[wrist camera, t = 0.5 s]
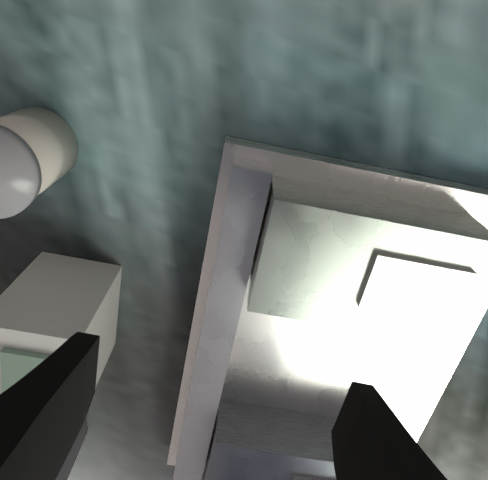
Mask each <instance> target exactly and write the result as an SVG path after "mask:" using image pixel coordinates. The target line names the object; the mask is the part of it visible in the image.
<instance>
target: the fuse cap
mask: <svg viewBox="0 0 488 480" xmlns="http://www.w3.org/2000/svg"><path fill="white" fill-rule="evenodd" d="M77 157H78V143H77V139H76V136H75V134H74V132H73V130H72V128H71V127H70V125H69V124H68V123H67V122H66V121H65V120H64V119H63V118H62V117H61V116H59V115H58V114H56V113H55V112H53V111H51V110H48V109H45V108H40V107H29V108H25V109H22V110H19V111H16V112H13V113H10V114H7V115H4V116H1V117H0V219H3V218H8V217H12V216H14V215H17V214H18V213H20V212H21V211H23V210H24V209H25V208H26V207H28V206H29V205H30V204H31V203H32V202H33V201H34V200H35V199H36V197H37V196H38V195H39V194H40V193H41V192H43V191H44V190H45V189H47V188H48V187H49V186H51V185H52V184H53V183H55V182H56V181H57V180H59V179H60V178H61V177H62V176H64V175H65V174H66V173H68V172H69V171H70V170H71V169H72V168H73V166H74V165H75V163H76V160H77Z"/></svg>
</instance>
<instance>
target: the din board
mask: <svg viewBox="0 0 488 480" xmlns="http://www.w3.org/2000/svg"><path fill="white" fill-rule="evenodd" d="M487 308H488V189H486V188H481V187H476V186H471V185H466V184H461V183H456V182H451V181H446V180H441V179H436V178H432V177H427V176H422V175H417V174H412V173H407V172H402V171H397V170H392V169H387V168H382V167H377V166H372V165H367V164H363V163H358V162H353V161H348V160H343V159H338V158H333V157H328V156H323V155H318V154H313V153H308V152H303V151H298V150H293V149H289V148H284V147H279V146H274V145H269V144H264V143H259V142H254V141H249V140H244V139H239V138H234V137H229V136H226V139H225V143H224V148H223V154H222V159H221V165H220V171H219V176H218V182H217V187H216V193H215V198H214V204H213V210H212V215H211V221H210V226H209V232H208V237H207V243H206V249H205V254H204V260H203V265H202V271H201V276H200V282H199V287H198V293H197V299H196V304H195V310H194V315H193V321H192V326H191V332H190V338H189V343H188V349H187V354H186V360H185V365H184V371H183V377H182V382H181V388H180V393H179V399H178V404H177V410H176V416H175V421H174V427H173V432H172V438H171V443H170V449H169V454H168V460H167V465H172V466H175V468H174V474H173V479H172V480H201V479H202V475H203V480H336V475H335V470H334V461H333V450H332V435H331V431H332V429H333V426H334V424H335V422H336V419H337V417H338V414H339V412H340V410H341V407H342V405H343V402H344V400H345V398H346V395H347V393H348V390H349V388H350V386H351V383H352V381H353V382H359V383H364V384H370V385H373V386H374V387H375V388H376V390H377V391H378V392H379V394H380V395H381V396H382V398H383V399H384V400H385V402H386V403H387V404H388V406H389V407H390V408H391V410H392V411H393V412H394V414H395V415H396V416H397V418H398V419H399V420H400V422H401V423H402V424H403V426H404V427H405V428H406V430H407V431H408V432H409V434H410V435H411V436H412V437H413V439H414V440H415V441H416V443H417V441H418V439H419V437H420V435H421V433H422V431H423V430H424V428H425V426H426V424H427V422H428V420H429V418H430V416H431V414H432V412H433V411H434V409H435V407H436V405H437V403H438V401H439V399H440V397H441V395H442V393H443V391H444V390H445V388H446V386H447V384H448V382H449V380H450V378H451V376H452V374H453V372H454V370H455V369H456V367H457V365H458V363H459V361H460V359H461V357H462V355H463V353H464V351H465V349H466V348H467V346H468V344H469V342H470V340H471V338H472V336H473V334H474V332H475V330H476V328H477V327H478V325H479V323H480V321H481V319H482V317H483V315H484V313H485V311H486V309H487ZM203 471H204V473H203Z"/></svg>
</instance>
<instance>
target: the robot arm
mask: <svg viewBox="0 0 488 480" xmlns="http://www.w3.org/2000/svg"><path fill="white" fill-rule="evenodd" d="M99 342H100V336H99V335H94V334H88V333H82V332H76V333H75V334H73V335H72V336H71V337H70V338H69V339H68V340H67V341H65V342H64V343H63V344H62V345H61V346H60V347H59V348H58V349H56V350H55V351H54V352H53V353H52V354H51V355H49V356H48V357H47V358H46V359H45V360H44V361H42V362H41V363H40V364H39V365H37V366H36V367H35V368H34V369H32V370H31V371H30V372H29V373H27V374H26V375H25V376H24V377H23V378H21V379H20V380H19V381H17V382H16V383H15V384H14V385H12V386H11V387H9V388H8V389H7V390H5V391H4V392H3V393H1V394H0V480H56V478H57V476H58V474H59V472H60V470H61V468H62V466H63V464H64V462H65V460H66V458H67V456H68V454H69V452H70V450H71V448H72V446H73V444H74V442H75V440H76V438H77V436H78V434H79V432H80V430H81V428H82V425H83V423H84V420H85V417H86V415H87V412H88V409H89V407H90V404H91V401H92V398H93V395H94V393H95V386H96V375H97V364H98V353H99ZM331 435H332V450H333V461H334V470H335V475H336V480H447V479H446V478H445V476H444V475H443V474H442V473H441V472H440V471H439V469H438V468H437V467H436V466H435V465H434V464H433V462H432V461H431V460H430V459H429V458H428V456H427V455H426V454H425V453H424V451H423V450H422V449H421V448H420V446H419V445H418V444H417V443H416V441H415V440H414V439H413V437H412V436H411V435H410V434H409V432H408V431H407V430H406V428H405V427H404V426H403V424H402V423H401V422H400V420H399V419H398V418H397V416H396V415H395V414H394V412H393V411H392V410H391V408H390V407H389V406H388V404H387V403H386V402H385V400H384V399H383V398H382V396H381V395H380V394H379V392H378V391H377V390H376V388H375V387H374V386H373V385H370V384H364V383H359V382H353V381H352V383H351V386H350V388H349V390H348V393H347V395H346V398H345V400H344V402H343V405H342V407H341V410H340V412H339V414H338V417H337V419H336V422H335V424H334V426H333V429H332V431H331Z"/></svg>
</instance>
